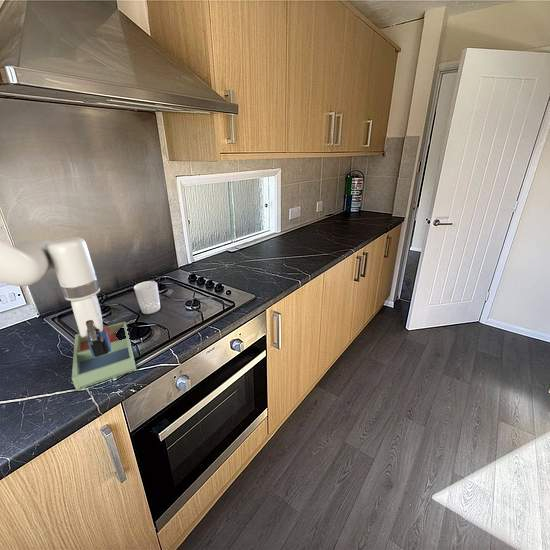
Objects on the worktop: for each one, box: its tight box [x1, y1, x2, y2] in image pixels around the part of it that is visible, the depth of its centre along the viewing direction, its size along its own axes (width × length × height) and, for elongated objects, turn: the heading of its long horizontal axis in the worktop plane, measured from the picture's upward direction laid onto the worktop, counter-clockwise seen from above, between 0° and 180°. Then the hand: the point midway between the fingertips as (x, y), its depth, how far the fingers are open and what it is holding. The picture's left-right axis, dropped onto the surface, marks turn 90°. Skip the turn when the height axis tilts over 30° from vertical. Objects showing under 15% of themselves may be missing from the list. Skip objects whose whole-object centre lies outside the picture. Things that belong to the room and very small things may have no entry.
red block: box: [103, 325, 113, 343], centre depth 88 cm, size 4×4×4 cm
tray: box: [71, 321, 137, 391], centre depth 84 cm, size 14×22×4 cm, turn 30°
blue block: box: [88, 330, 111, 357], centre depth 78 cm, size 4×4×4 cm
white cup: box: [133, 280, 161, 315], centre depth 108 cm, size 8×8×10 cm
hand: (101, 348), depth 78 cm, fingers closed on blue block, 4 cm apart
